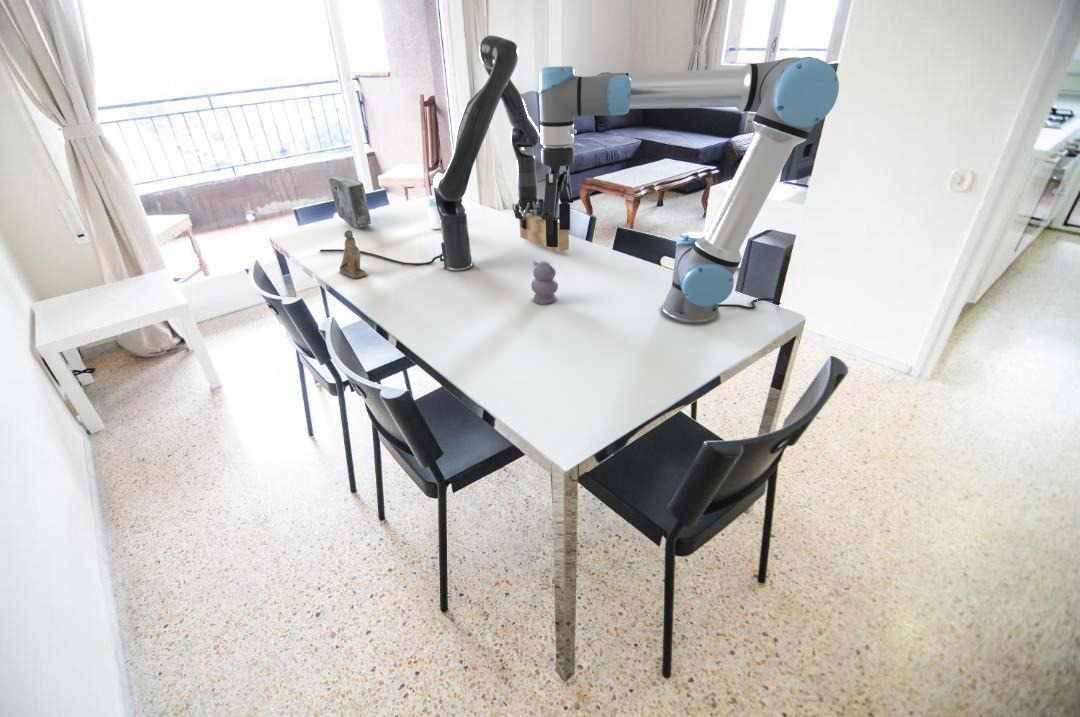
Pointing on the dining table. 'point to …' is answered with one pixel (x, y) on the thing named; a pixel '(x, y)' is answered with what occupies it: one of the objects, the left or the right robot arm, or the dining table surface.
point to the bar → (542, 233)
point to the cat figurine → (544, 282)
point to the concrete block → (350, 200)
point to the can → (433, 214)
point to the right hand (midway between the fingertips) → (558, 237)
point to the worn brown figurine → (351, 258)
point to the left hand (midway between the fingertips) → (529, 227)
